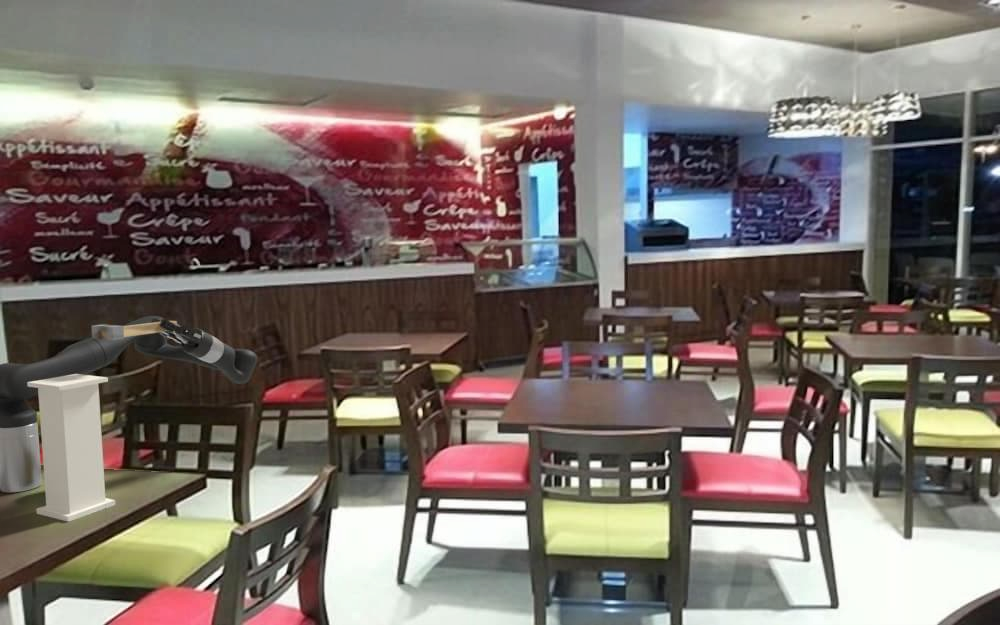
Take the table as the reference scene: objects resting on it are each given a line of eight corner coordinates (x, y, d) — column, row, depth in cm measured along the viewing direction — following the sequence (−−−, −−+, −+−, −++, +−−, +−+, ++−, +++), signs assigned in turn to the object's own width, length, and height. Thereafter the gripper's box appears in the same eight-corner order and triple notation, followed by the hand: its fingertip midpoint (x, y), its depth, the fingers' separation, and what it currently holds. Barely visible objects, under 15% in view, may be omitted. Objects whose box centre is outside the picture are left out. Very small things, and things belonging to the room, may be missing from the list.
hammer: (92, 338, 183) (91, 325, 183) (163, 328, 202) (162, 317, 202) (113, 340, 180) (112, 327, 179) (183, 330, 198) (183, 318, 198)
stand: (36, 513, 174) (27, 382, 171) (84, 497, 185) (76, 373, 182) (68, 521, 169) (59, 386, 166) (115, 504, 180) (107, 377, 177)
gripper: (191, 333, 214) (144, 308, 200) (225, 335, 208) (180, 310, 194) (181, 356, 211) (133, 333, 197) (216, 359, 205) (169, 336, 191)
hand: (157, 322), depth 196 cm, fingers closed on hammer, 3 cm apart
